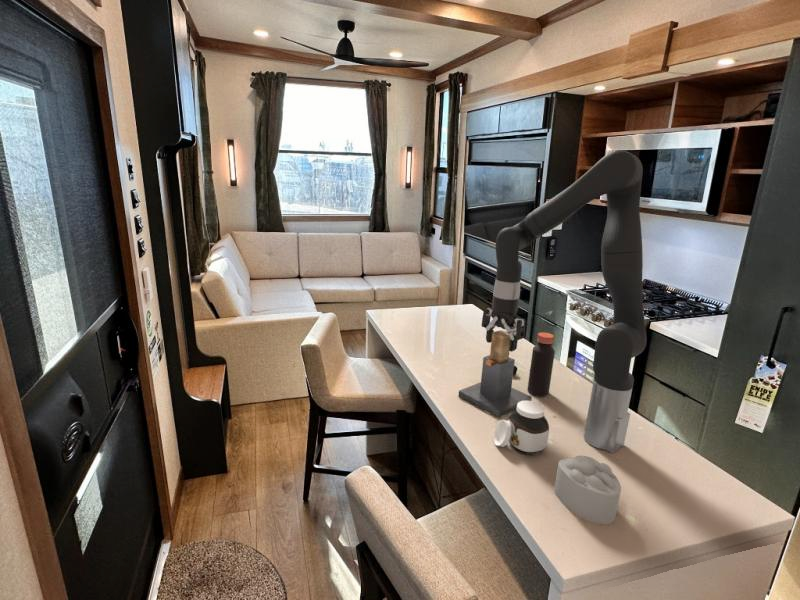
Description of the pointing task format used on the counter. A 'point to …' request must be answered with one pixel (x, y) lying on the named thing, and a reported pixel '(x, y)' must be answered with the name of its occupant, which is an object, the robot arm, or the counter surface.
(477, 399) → the metal sleeve stand
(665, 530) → the counter surface
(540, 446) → the spread jar
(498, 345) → the oak post
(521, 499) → the counter surface
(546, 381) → the bottle
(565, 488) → the lumpy-topped squat cylinder
